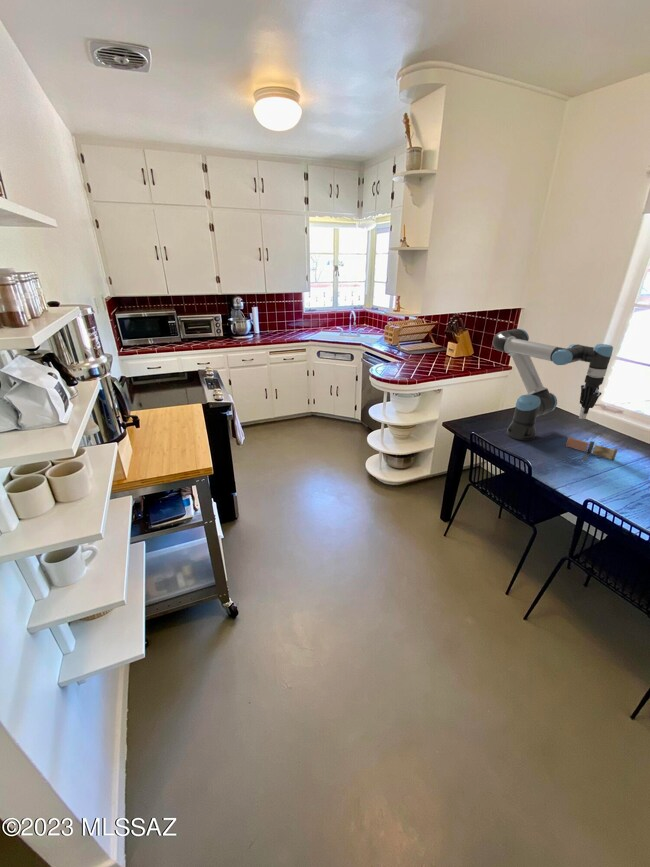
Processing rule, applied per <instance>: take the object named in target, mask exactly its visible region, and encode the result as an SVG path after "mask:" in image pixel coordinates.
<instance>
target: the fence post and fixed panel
mask: <svg viewBox="0 0 650 867" xmlns="http://www.w3.org/2000/svg"><path fill="white" fill-rule="evenodd" d="M586 453H589V454H590V455H592V454H595V455H594V456H596V455H598V456H597V457H599V456H602V457H605V458H604V459H606V458H609V459H611V460H610V461H614V460H615V458H616V455H617V453H618V449H617V448H614V449H613V448H609V447H606V446H602V445H599V444H595V441H593V440H591V441H590V442H589V443H588V446H587V449H586ZM591 453H592V454H591ZM602 457H601V458H602ZM609 459H608V460H609Z"/></svg>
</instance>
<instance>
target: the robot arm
mask: <svg viewBox="0 0 650 867" xmlns="http://www.w3.org/2000/svg"><path fill="white" fill-rule="evenodd" d="M492 346H493V348H494V349H495V350H496V351H498V352H502V353H506V354H507V355H508V356H510V357H512V360H513V362H514V364H515V367H516V370H517V371H518V374H519V376H520V379H521V381H522V382H523V386H524V387H525V390H526V394H523V395H520V396H519V397H517V400H516V402H515V408H514V413H513V417H512V421H511V423H510V424H509V426H508V427H507V429H506V434H507V436H508V437H510V438H512V439H515V440H519V441H532V440H534V439H536V435H537V432H536V421H537V417H540V416H543V415H546V414H549V413H551V412H553V411H554V410H555V409H556V408H557V406H558V398H557V397H556V395H555V394H554V393H552V392H550V391H549V389H548V387H545V386H544V384H543V382H542V381H541V378H540V376H539V373H538V372H537V369H536V366H535V364H534V362H533V361H532V357H533V358H536V359H539V360H545V361H549V362H552V363H554V364H555V365H556V366H565V365H568V364H571V363H575V362H584V363H589V365H588V369H587V372H586V375H585V378H584V383H585V384H581V385H580V390H581V391H580V395H579V396H580V397H579V404H581V407H580V412H579V416H578V419H580V420H586V418H587V415H588V414H589V410H590V409H593V408H594V407H595V405H596V404H597V401H598V400H599V397H600V396H602V393H603V392H600V386H601V385H603V383H604V379H605V376H606V373H607V370H608V367H609V363H610V362H611V358H612V356H613V350H614V347H613V346H612V345H611V344H604V343H597V344H594V347H593V346H589V345H582V344H579V343H578V344H574V343H572V344H569V345H568V346H567V348H565V347H559V346H556V345H555V346H554V345H550V344H545V343H539V342H536V341H530V336H529V334H528V332H527V331H526V330H524V329H522V328H512V329H509V330H503V331H499V332H498V333H496V334H495V335H494V337H493V340H492Z"/></svg>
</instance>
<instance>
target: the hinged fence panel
mask: <svg viewBox="0 0 650 867" xmlns="http://www.w3.org/2000/svg"><path fill="white" fill-rule="evenodd" d="M588 447H589V442H588V441H584V440H581V439H577V438H573V437H571V436H568V437H567V441H566V443H565V448H571V449H575V450H578V451H581V452H585V453H587V450H588Z"/></svg>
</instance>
